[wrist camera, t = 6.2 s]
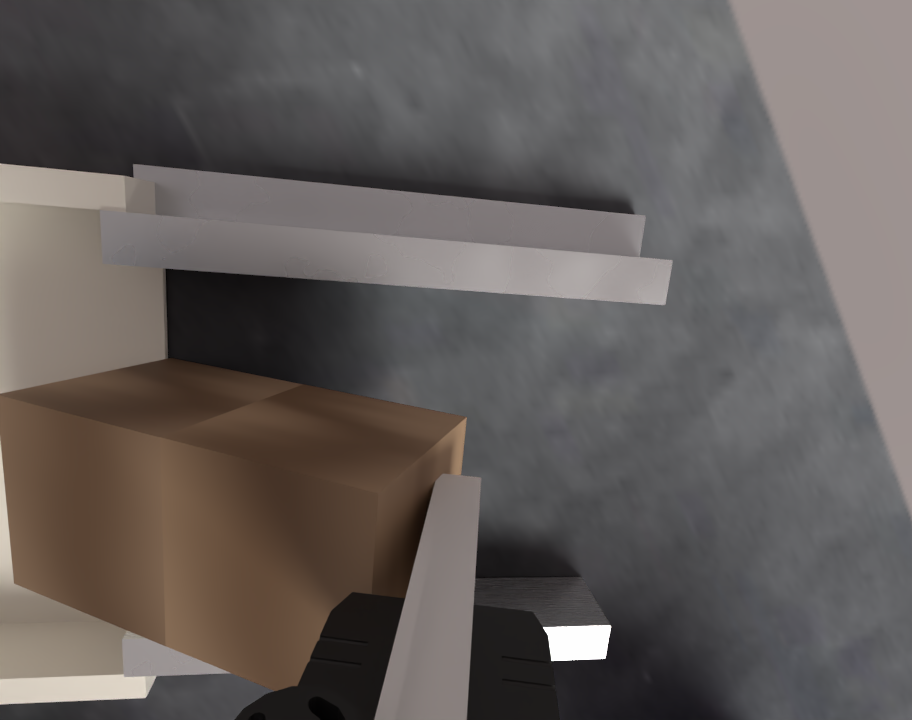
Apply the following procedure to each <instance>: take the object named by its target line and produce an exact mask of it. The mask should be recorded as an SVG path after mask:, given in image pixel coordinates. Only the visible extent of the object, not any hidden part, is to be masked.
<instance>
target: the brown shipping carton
mask: <svg viewBox="0 0 912 720" xmlns="http://www.w3.org/2000/svg"><path fill="white" fill-rule="evenodd" d="M466 420H467V417H464V416H459V415H454V414H449V413H444V412H439V411H434V410H429V409H424V408H419V407H414V406H409V405H404V404H399V403H394V402H389V401H384V400H379V399H374V398H369V397H364V396H359V395H354V394H349V393H344V392H339V391H334V390H329V389H324V388H319V387H315V386H310V385H305V384H303V385H300V386H298V387H295V388H292V389H289V390H287V391H284V392H281V393H279V394H276V395H273V396H270V397H268V398H265V399H262V400H260V401H257V402H254V403H251V404H249V405H246V406H243V407H241V408H238V409H235V410H232V411H230V412H227V413H224V414H222V415H219V416H216V417H213V418H211V419H208V420H205V421H203V422H200V423H197V424H194V425H192V426H189V427H186V428H184V429H181V430H178V431H175V432H173V433H170V434H167V435H165V436H162V437H160V449H161V488H162V527H163V566H164V604H165V643H166V647H169V648H171V649H174V650H176V651H178V652H181V653H183V654H186V655H188V656H191V657H193V658H196V659H198V660H201V661H203V662H205V663H208V664H210V665H213V666H215V667H218V668H220V669H223V670H225V671H227V672H230V673H232V674H235V675H237V676H240V677H242V678H245V679H247V680H250V681H252V682H254V683H257V684H259V685H262V686H264V687H267V688H269V689H272V690H274V691H278V690H281V689H284V688H287V687H291V686H297V685H298V683H299V681H300V679H301V676H302V674H303V672H304V670H305V668H306V665H307V663H308V662H309V661H310V656H311V654H312V652H313V650H314V647H315V645H316V643H317V641H319V638H320V634H321V632H322V630H323V627H324V625H325V623H326V621H327V618H328V616H329V614H330V612H331V610H332V609H334V608H335V607H336V606H337V605H338V604H339V603H340V602H342V601H343V600H344V599H345V598H346V597H347V596H348V595H349V594H351V593H352V592H357V593H365V594H373V595H381V596H390V597H398V598H406V594H407V590H408V586H409V582H410V578H411V574H412V570H413V566H414V562H415V559H416V555H417V551H418V547H419V543H420V539H421V535H422V531H423V527H424V523H425V519H426V516H427V512H428V508H429V504H430V500H431V496H432V492H433V488H434V484H435V481H436V480H437V479H438V478H439V477H440V476H441V475H442V474H453V475H461V469H462V459H463V449H464V439H465V429H466Z"/></svg>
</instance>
